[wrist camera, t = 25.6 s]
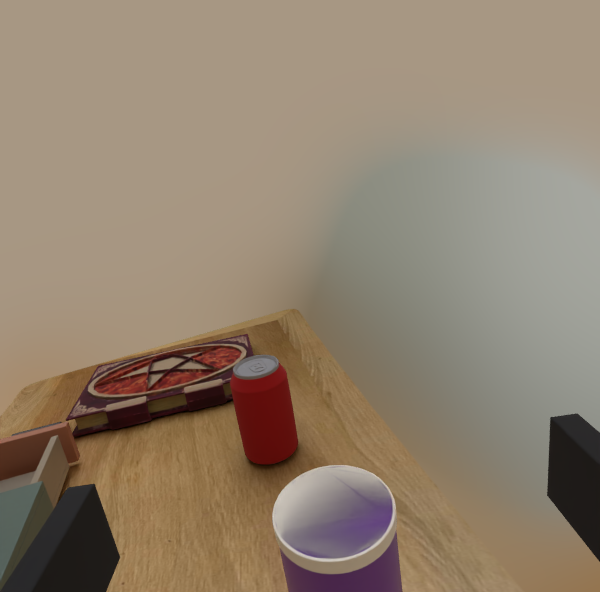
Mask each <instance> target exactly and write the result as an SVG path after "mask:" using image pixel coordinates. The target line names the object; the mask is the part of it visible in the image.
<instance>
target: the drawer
mask: <svg viewBox="0 0 600 592" xmlns="http://www.w3.org/2000/svg"><path fill="white" fill-rule="evenodd" d="M79 457H80V454H79V451H78V448H77V446H76V443H75V440H74V437H73V434H72V432H71V429H70V426H69V423H68V422H64V423H62V422H58V423H54V424H50V425H46V426H42V427H39V428H35V429H31V430H27V431H23V432H19V433H16V434H13V435H12V436H11V437H7V438H3V439H0V493H2V492H5V491H9V490H12V489H16V488H19V487H23V486H26V485H30V484H33V483H37V482H40V481H43V483H44V486H45V488H46V490H47V493H48V495H49V498H50V500H51V503H52V505H53V508H55V507H56V504H57V501H58V498H59V496H60V493H61V490H62V487H63V484H64V481H65V478H66V476H67V473H68V470H69V464H68V463H72V462H75V461H78V460H79Z"/></svg>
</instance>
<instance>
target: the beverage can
mask: <svg viewBox="0 0 600 592" xmlns="http://www.w3.org/2000/svg"><path fill="white" fill-rule="evenodd" d="M230 387H231V392H232V397H233V402H234V406H235V411H236V416H237V420H238V425H239V429H240V434H241V438H242V443H243V447H244V451H245V455H246V457H247V458H248V459H249V460H250V461H252V462H254V463H257V464H275V463H278V462H281V461H283V460H285V459H286V458H288V457H289V456H291V455H292V454H293V453H294V451H295V450H296V448H297V446H298V438H297V432H296V425H295V419H294V413H293V407H292V401H291V395H290V390H289V384H288V379H287V373H286V371H285V369H284V368H283V367H282V366H281V364H280V363H279V361H278V359H277V358H276V357H274V356H271V355H257V356H252V357H248V358H246V359H243V360H241V361H240V362H238V363H237V364H236V365H235V366H234V368H233V375H232V378H231V381H230Z"/></svg>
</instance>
